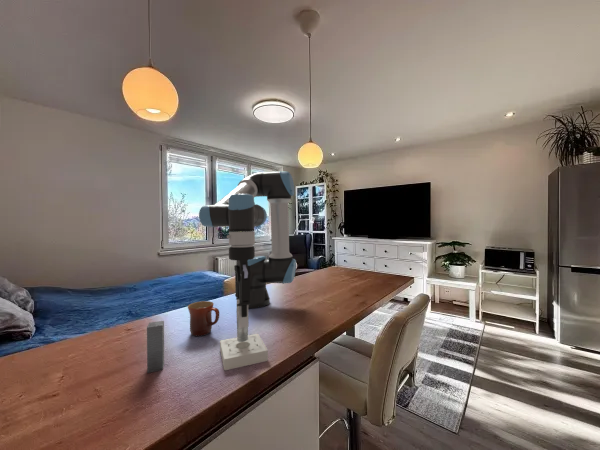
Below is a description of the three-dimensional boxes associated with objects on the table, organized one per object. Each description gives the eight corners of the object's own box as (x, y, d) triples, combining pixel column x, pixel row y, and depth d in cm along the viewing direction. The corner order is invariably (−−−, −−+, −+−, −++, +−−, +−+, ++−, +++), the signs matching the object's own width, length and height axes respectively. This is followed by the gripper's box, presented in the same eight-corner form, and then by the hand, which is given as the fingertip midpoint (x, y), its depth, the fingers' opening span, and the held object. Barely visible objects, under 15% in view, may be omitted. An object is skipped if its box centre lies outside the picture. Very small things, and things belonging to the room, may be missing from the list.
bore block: (220, 350, 77) (220, 340, 77) (258, 342, 82) (258, 333, 82) (224, 370, 66) (224, 359, 66) (267, 360, 71) (267, 350, 71)
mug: (182, 336, 87) (182, 307, 87) (199, 326, 96) (199, 300, 96) (210, 341, 83) (210, 310, 83) (226, 330, 92) (225, 303, 92)
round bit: (236, 338, 75) (235, 298, 75) (247, 336, 76) (246, 297, 76) (238, 342, 72) (237, 301, 72) (249, 340, 73) (248, 299, 73)
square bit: (149, 366, 69) (149, 322, 69) (164, 363, 70) (163, 320, 70) (147, 373, 65) (146, 327, 66) (162, 369, 67) (162, 325, 67)
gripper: (225, 244, 80) (226, 317, 80) (232, 248, 65) (233, 338, 65) (249, 244, 83) (249, 314, 83) (260, 247, 68) (261, 333, 68)
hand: (242, 324), depth 74 cm, fingers closed on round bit, 3 cm apart
